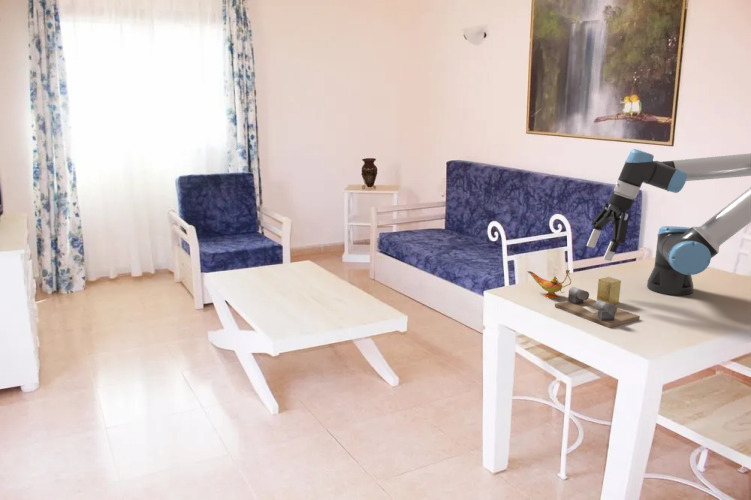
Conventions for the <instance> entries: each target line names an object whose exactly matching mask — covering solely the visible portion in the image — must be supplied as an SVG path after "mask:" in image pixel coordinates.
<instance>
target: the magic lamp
mask: <svg viewBox="0 0 751 500" xmlns="http://www.w3.org/2000/svg"><path fill="white" fill-rule="evenodd" d="M570 271H571V270H570V269H567V270H566V271H565V274H566V275H565V277H564V280H563V281H561V282H560V281H559V279H558V277H556V276H553V278H551V280H547V279H544V278H541V277H540V276H539V275H538V274H536V273H535V272H533V271H530V270H529V271H527V273H528V274H529V275H531V277H532V279H534V281H535V282H536V283H537V284H538V286H540V287H541V288H542V289H544V291H546V292H547V293H545V294H543V297H545V298H547V297H548V298H547V299H558V298H559V295H558V294H556V293H557V292H561V293H563V294H564V293H565V291H563V292H562V289H563V288H565V287H568V286H570V285H571V284H572V279H571V278H570V275H571V272H570ZM567 277H568V280H569V281H570V282H569V283H568V284H565V283H564V282H565V281H566V280H567ZM563 284H565V285H563Z"/></svg>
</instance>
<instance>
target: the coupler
mask: <svg viewBox="0 0 751 500" xmlns="http://www.w3.org/2000/svg"><path fill="white" fill-rule="evenodd" d="M597 282H598V284H597V295H596V296H597V297H596V301H598V300H600V301H602V302H605V303H608V304H611V305H616V304H619V303H620V294H621V285H622V279H621V280H620V279H617V278H615V277H614V278H613V277H611V276H605V277H601V278H598V281H597Z"/></svg>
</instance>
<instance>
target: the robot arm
mask: <svg viewBox="0 0 751 500" xmlns="http://www.w3.org/2000/svg"><path fill="white" fill-rule="evenodd" d="M619 174H620V175H619V177H618V179H617V181H616V182H615V186H614V188H613V191H614V192H612V193H611V194H610V197H609V198H608V202H605V203H604V206H603V207H602V209H601V211H600V212H599V213H598V214H597V216H596V217H595V218H594V220H593V221H592V222H591V225H592V226H593V227H592V228H593V230H592V232H591V234H590V236H589V239H588V241H587V244H586V247H589V248H591V249H595V247H596V245H597V243H598V240H599V238H600V236H601V234H602V231H603V229H604V227H606V225H608V224H609V223H610V222H611V224H612V239H611V240H610V242H609V244H608V247H607V249H606V251H605V252H604V256H603V260H605V261H608V262H612V260H613V258H614V256H615V254H616V252H617V250H618V247H619V245H620V244H623V245H624V244H625V242H626V238H627V237H626V236H627V231H628V225H629V220H630V218H631V214H629V213H626V212H627V211H630V210H631V209H632V207H633V205H634V203H635V200H634V199H636V198H637V196H638V194H639V191H640V189H641V187H642V184H643V183H644V184H646V185H648V186H649V185H650V186H652V187H655V188H658V189H661V190H664V191H666V192H671V193H675V194H678V193H679V192H681V191H682V189H683V188H684V186H685V184H686V182H690V181H691V182H692V181H693V182H694V181H705V180H715V179H717V180H718V179H729V178H741V177H742V178H743V177H751V153H741V154H730V155H729V154H727V155H719V156H718V155H717V156H710V157H709V156H708V157H697V158H688V159H676V160H666V161H660V160H659V161H658V160H655V161H654V155H653V154H651V153H648V152H646V151H643V150H641V149H637V148H633V149H631V151H629V153H628V156H627V158H626V159H625V162H624V164H623V167H622V169H621V172H620V173H619ZM750 223H751V186H750V187H749V188H748V189H746V190H745V191H743V192H742V193H741V194H740V195H738V197H736V198H735V199H733V200H732V201H731V202H730V203H728V204H726V206H725V207H723V208H722V209H721V210H719V211H718V212H717V213H716V214H715V215H713V216H712V217H710V218H709V219H707V221H705V222H704V223H703V224H701V225H700V226H692V227H687V226H671V225H670V226H667V225H665V226H664V225H663V226H660V228H658V234H657V241H656V251H655V259H654V267H653V269H652V271H651V273H650V275H649V277H648V280H647V284H646V287H647V288H648V290H651V291H653V292H656V293H660V294H664V295H670V296H671V295H672V296H685V295H691V294H693V292H694V281H693V278H692V276H693V275H698V274H700V273H703V272H704V271H705V270H706V269H707V268H708V267H709V266H710V263H711V261H712V260H711V259H712V258H714V257H715V256H716V255H718V254H719V252H720V251H719V250H720V247H721V245H722V244H725V242H727V241H728V240H730V239H731V238H732V237H734V236H735V235H736V234H737V233H738V232H740V231H741V230H742V229H744V228H745V227H746V226H748V225H749V224H750Z"/></svg>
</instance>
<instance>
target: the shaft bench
mask: <svg viewBox="0 0 751 500" xmlns="http://www.w3.org/2000/svg"><path fill="white" fill-rule="evenodd" d="M589 297H590V293H589V291H587V290H584V289H582V288H581V289H580V288H577V287H574V286H571V287H569V290H568V297H567V298H568V299H567V300H564V301H560V302H556V303H554V307H555V308H557V309H558V310H561V311H564V312H567V313H570V314H573V315H575V316H577V317H580V318H582V319H584V320H587V321H591V322H593V323H595V324H597V325H600V326H603V327H606V328H609V329H611V328H614V327H617V326H621V325H625V324H629V323H632V322H636V321H639V320H640V315H638V314H635V313H632V312H629V311H627V310H624V309H621V308H618V307H617V306H616V305H615V304H613V305H611V304H608V303H605V302H602V301H600V300H598V301H597V300H595V299H592V298H589Z"/></svg>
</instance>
